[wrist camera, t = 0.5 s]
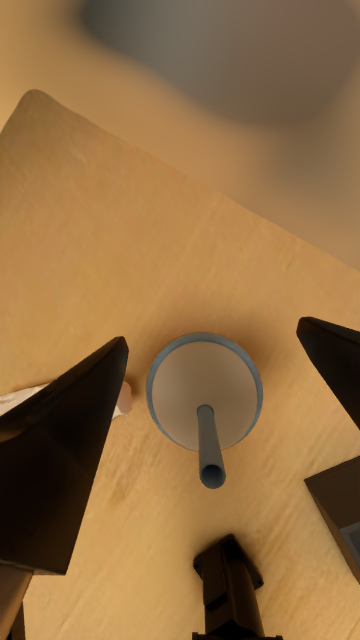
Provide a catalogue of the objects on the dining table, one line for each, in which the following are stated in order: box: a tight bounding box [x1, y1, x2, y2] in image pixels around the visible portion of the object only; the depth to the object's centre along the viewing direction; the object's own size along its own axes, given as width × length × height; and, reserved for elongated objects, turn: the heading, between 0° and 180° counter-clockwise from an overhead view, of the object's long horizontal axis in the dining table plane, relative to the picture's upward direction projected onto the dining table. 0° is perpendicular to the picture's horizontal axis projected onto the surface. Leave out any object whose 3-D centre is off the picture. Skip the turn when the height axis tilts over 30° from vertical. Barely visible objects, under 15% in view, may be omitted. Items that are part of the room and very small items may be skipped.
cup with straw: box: [146, 332, 263, 489], centre depth 15 cm, size 9×9×18 cm
